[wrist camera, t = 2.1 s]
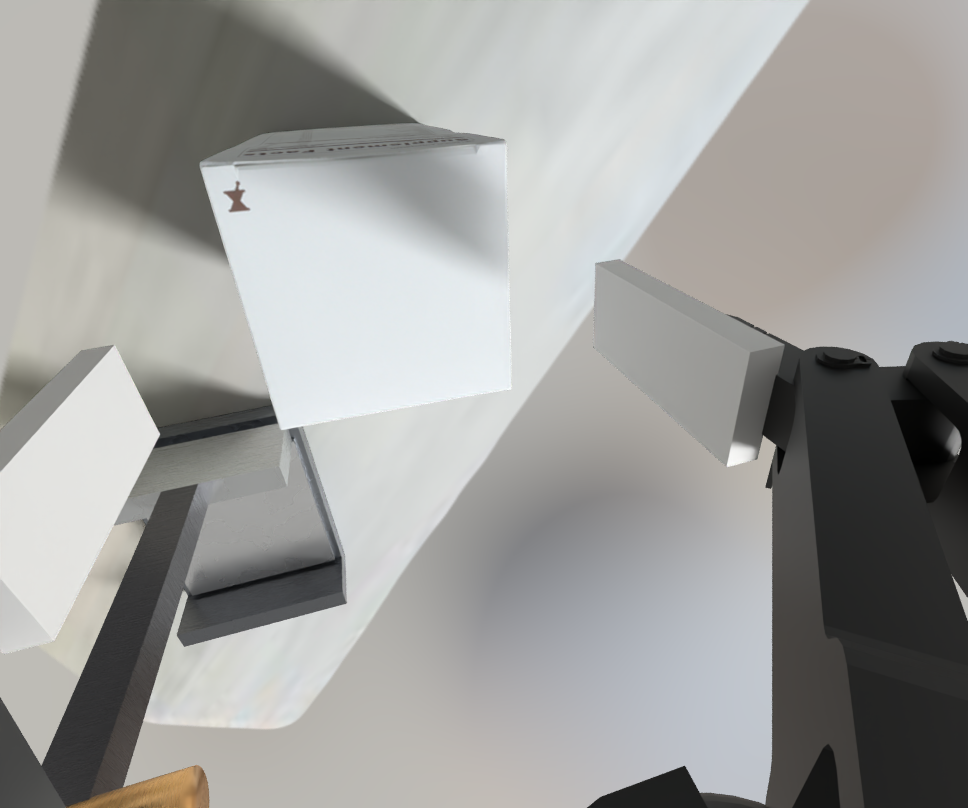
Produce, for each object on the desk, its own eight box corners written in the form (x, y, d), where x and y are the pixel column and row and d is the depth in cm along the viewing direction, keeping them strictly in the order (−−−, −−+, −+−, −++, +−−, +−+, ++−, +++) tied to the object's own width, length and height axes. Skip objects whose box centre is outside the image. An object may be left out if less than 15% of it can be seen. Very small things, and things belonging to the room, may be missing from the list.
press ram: (284, 418, 34) (226, 815, 15) (293, 444, 35) (250, 844, 16) (104, 454, 32) (-222, 960, 13) (120, 481, 33) (-158, 982, 14)
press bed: (294, 401, 36) (289, 440, 32) (345, 555, 44) (346, 603, 40) (109, 437, 34) (78, 485, 30) (198, 592, 42) (184, 646, 38)
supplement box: (294, 295, 33) (267, 440, 19) (253, 131, 28) (176, 160, 14) (441, 276, 34) (519, 395, 20) (427, 120, 30) (515, 135, 16)
